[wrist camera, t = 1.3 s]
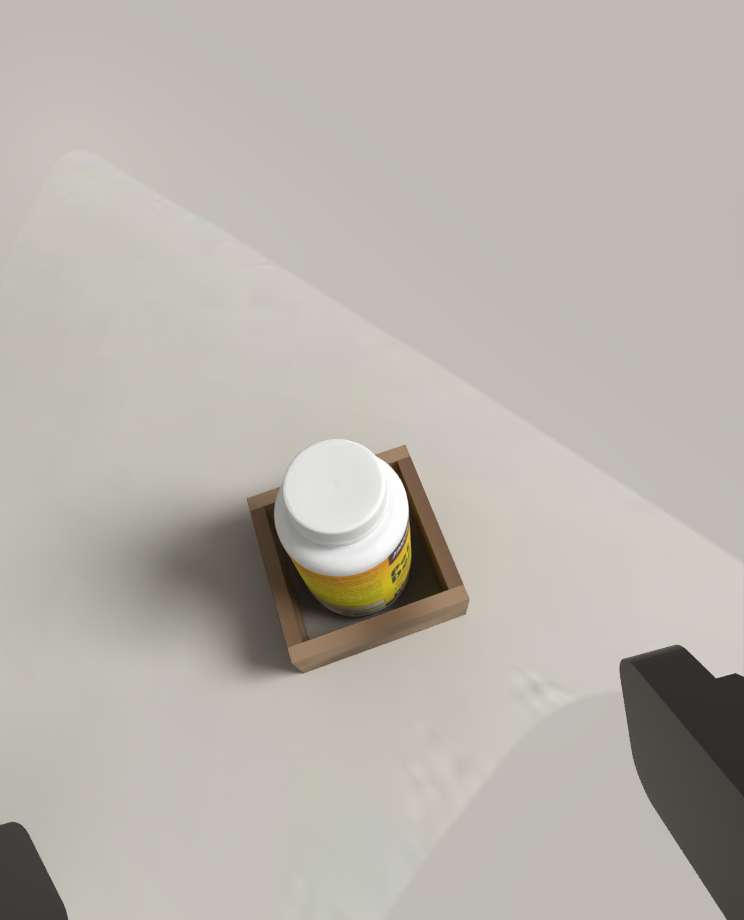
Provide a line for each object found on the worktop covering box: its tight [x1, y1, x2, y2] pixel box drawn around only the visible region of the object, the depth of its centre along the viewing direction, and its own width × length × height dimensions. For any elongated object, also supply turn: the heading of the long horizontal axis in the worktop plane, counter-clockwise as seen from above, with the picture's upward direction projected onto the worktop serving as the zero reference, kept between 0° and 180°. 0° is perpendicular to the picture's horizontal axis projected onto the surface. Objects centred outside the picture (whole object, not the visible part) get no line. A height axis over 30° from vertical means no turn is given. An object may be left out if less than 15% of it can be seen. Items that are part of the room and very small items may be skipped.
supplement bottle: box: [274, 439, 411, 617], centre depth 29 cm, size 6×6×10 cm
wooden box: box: [247, 445, 469, 673], centre depth 32 cm, size 8×8×3 cm
